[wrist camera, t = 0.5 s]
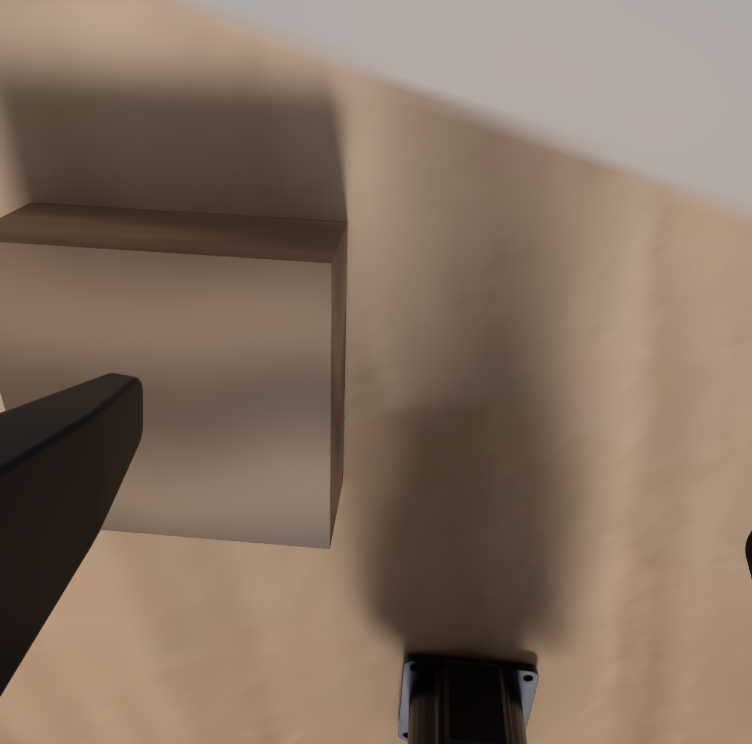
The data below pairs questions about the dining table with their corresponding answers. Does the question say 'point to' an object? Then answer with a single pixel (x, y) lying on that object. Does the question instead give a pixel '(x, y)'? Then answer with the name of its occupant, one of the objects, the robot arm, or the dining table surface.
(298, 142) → the dining table surface
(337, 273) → the walnut base
